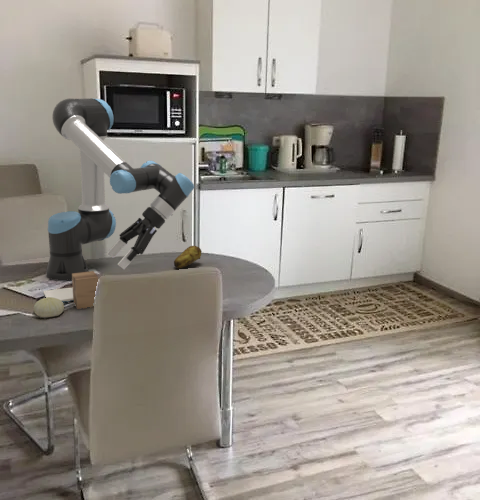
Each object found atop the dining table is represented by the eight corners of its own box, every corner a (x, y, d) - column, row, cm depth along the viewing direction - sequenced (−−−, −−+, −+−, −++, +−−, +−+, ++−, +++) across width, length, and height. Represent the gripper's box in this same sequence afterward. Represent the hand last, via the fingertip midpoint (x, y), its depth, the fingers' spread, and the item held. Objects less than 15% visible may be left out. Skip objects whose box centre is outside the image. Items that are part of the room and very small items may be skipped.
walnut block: (73, 301, 188) (71, 273, 185) (94, 299, 191) (93, 271, 188) (77, 309, 182) (75, 279, 179) (99, 306, 185) (98, 277, 182)
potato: (168, 265, 229) (168, 246, 227) (197, 261, 235) (197, 243, 233) (176, 271, 222) (176, 251, 220) (206, 267, 228) (206, 248, 226)
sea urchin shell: (35, 316, 171) (32, 292, 174) (35, 326, 177) (32, 303, 180) (66, 312, 174) (62, 289, 178) (65, 322, 181) (61, 299, 184)
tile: (43, 294, 194) (43, 290, 193) (76, 290, 198) (76, 286, 198) (48, 305, 184) (48, 301, 184) (82, 300, 189) (82, 297, 189)
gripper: (178, 228, 180) (134, 279, 178) (153, 213, 201) (113, 257, 199) (162, 213, 176) (116, 264, 174) (138, 199, 198) (97, 244, 195)
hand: (115, 261), depth 186 cm, fingers open, 13 cm apart
